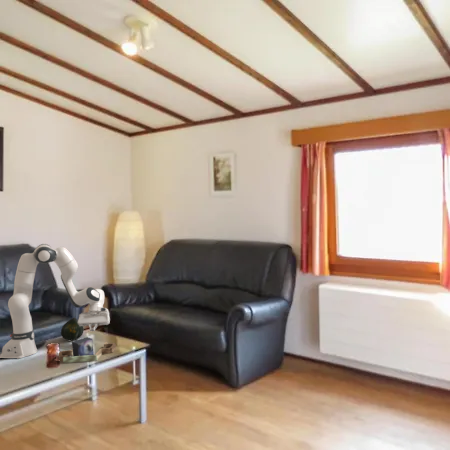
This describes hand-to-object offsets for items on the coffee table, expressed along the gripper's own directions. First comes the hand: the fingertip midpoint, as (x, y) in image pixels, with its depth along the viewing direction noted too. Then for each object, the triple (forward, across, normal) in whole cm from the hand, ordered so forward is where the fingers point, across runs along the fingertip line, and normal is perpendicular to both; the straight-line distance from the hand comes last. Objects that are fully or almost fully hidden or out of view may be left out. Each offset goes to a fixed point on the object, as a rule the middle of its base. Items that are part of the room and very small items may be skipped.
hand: (92, 330), depth 291 cm
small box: (+22, 0, -7) cm, 23 cm away
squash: (-6, -19, +21) cm, 29 cm away
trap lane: (+18, +1, -4) cm, 18 cm away
